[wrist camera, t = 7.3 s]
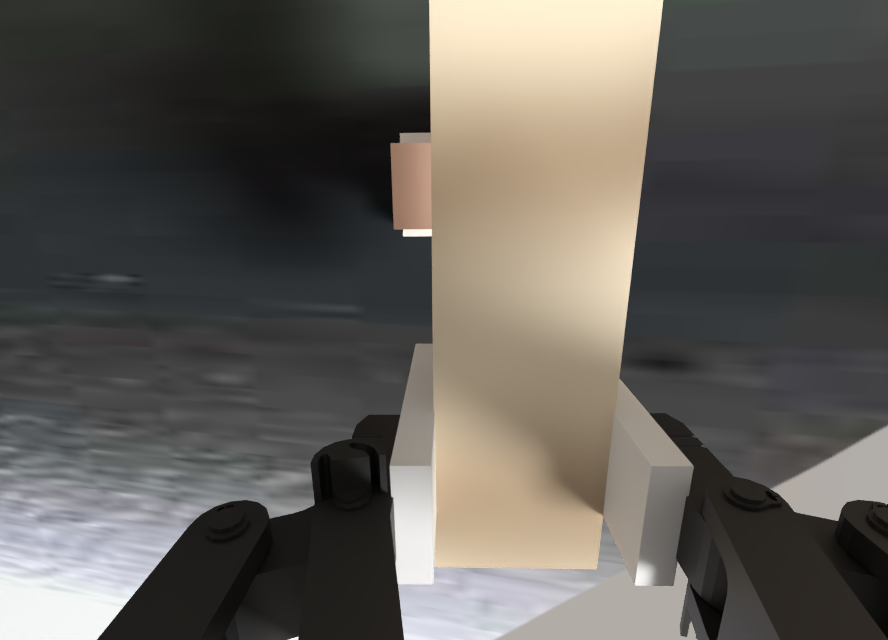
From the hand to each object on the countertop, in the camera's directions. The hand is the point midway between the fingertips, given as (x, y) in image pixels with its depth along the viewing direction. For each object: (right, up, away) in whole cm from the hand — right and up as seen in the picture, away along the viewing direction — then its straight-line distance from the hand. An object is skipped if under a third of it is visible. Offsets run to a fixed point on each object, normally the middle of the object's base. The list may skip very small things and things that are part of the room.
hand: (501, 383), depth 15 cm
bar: (0, +6, -1) cm, 6 cm away
